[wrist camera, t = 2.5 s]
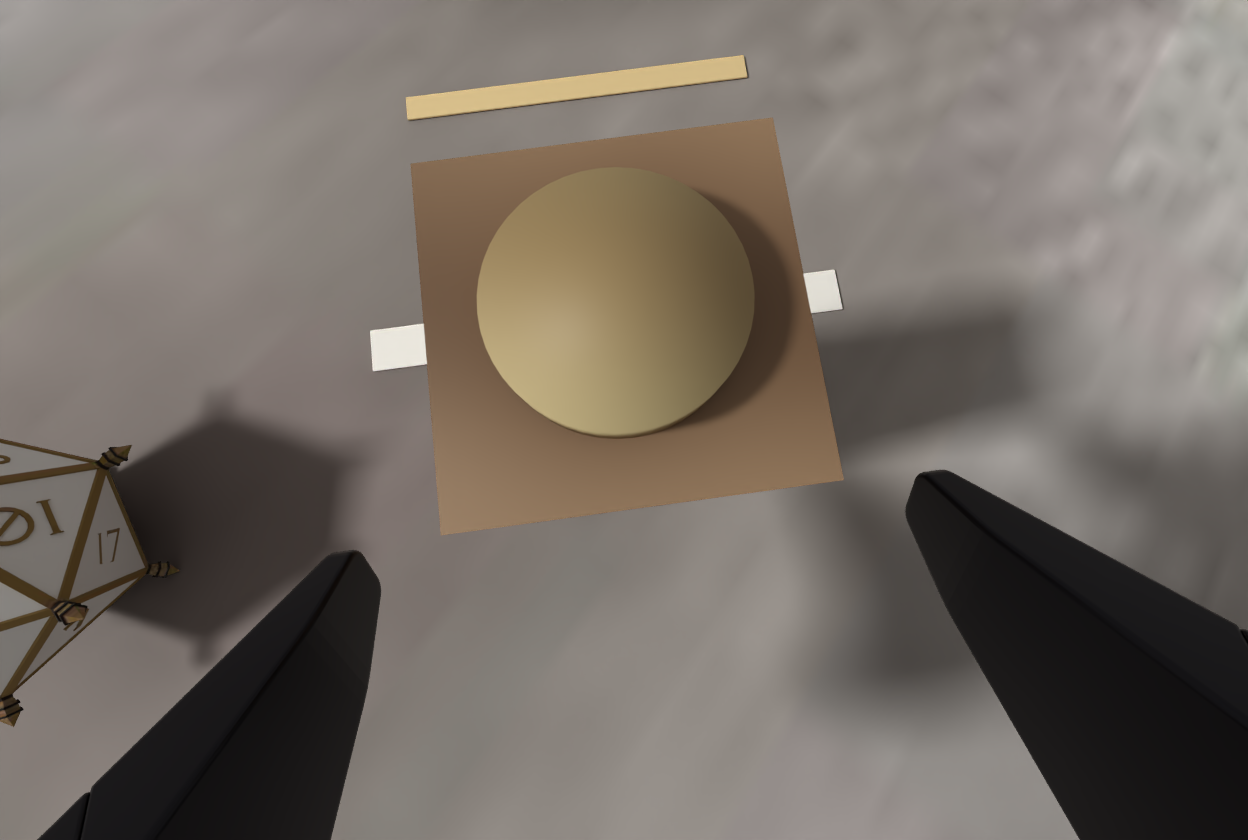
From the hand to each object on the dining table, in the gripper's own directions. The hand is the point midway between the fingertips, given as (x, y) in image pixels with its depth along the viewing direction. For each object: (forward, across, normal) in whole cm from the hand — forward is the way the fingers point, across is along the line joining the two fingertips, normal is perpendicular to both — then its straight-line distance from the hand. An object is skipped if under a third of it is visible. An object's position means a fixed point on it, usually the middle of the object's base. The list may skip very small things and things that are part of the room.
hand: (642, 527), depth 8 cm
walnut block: (+9, 0, +6) cm, 11 cm away
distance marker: (+20, 0, -5) cm, 20 cm away
